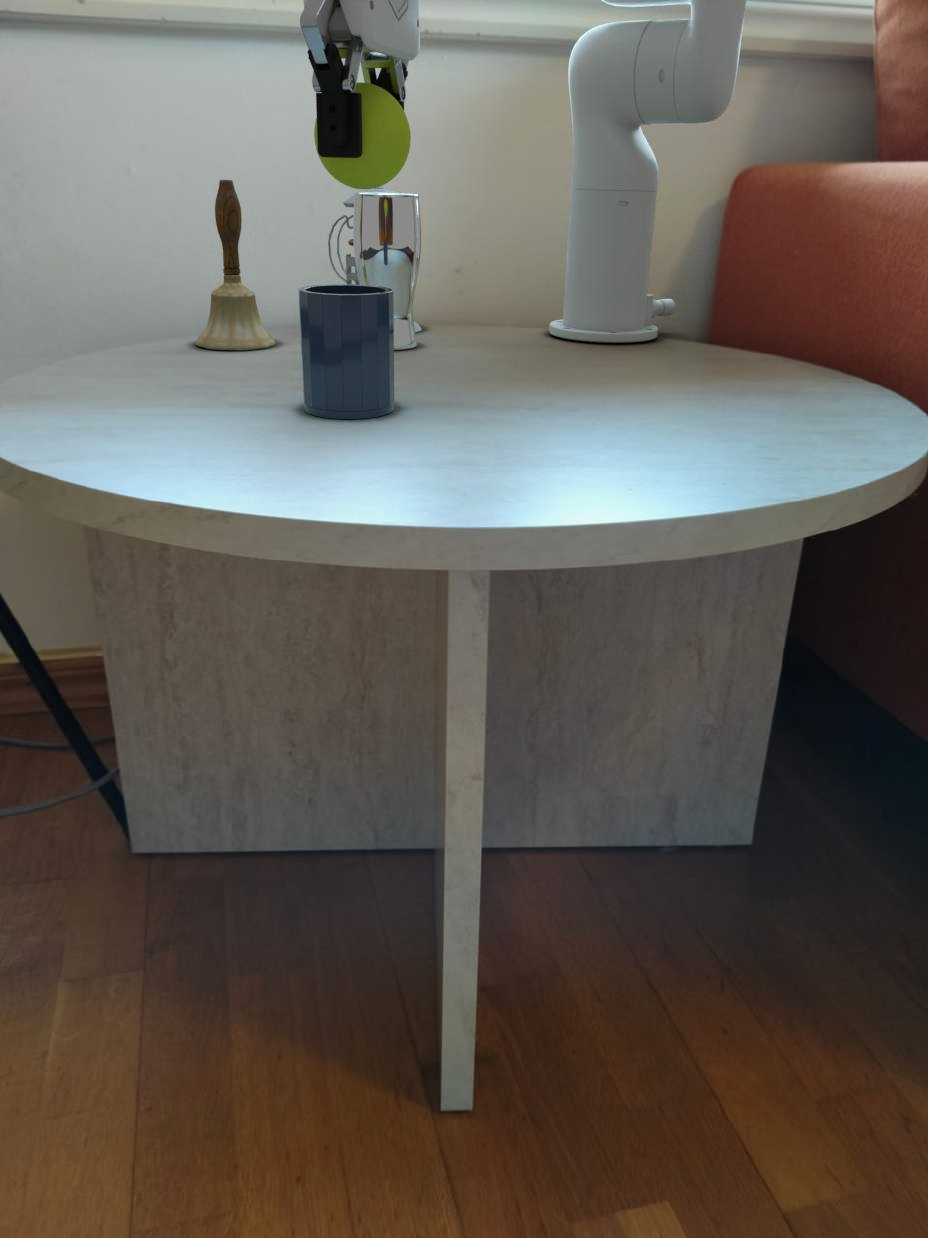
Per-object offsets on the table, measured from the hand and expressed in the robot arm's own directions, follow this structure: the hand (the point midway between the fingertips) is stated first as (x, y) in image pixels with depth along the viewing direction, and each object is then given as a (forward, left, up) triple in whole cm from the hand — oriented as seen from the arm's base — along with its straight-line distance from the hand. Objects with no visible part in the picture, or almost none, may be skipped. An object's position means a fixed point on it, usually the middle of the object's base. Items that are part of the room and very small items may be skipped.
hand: (362, 156), depth 72 cm
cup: (+2, +1, -18) cm, 18 cm away
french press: (-21, -36, -18) cm, 45 cm away
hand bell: (-2, -32, -18) cm, 37 cm away
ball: (0, 0, +1) cm, 1 cm away
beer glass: (-16, -24, -18) cm, 34 cm away
